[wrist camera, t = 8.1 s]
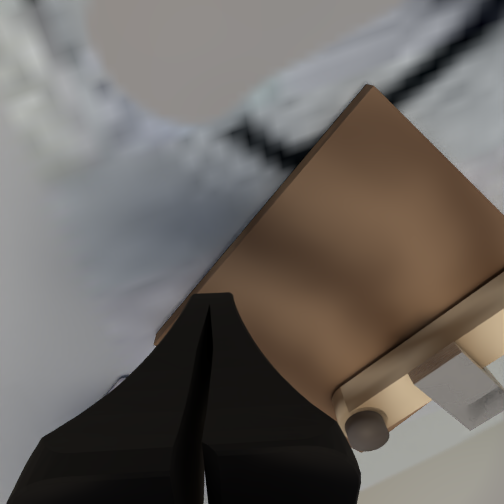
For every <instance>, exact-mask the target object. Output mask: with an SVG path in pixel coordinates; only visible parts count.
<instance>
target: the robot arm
mask: <svg viewBox="0 0 504 504" xmlns="http://www.w3.org/2000/svg"><path fill="white" fill-rule="evenodd" d="M204 471H205V477H206V486H207V495H208V504H357V500H358V495H359V490H360V485H361V472H360V469H359V466H358V463H357V460H356V458H355V455H354V453H353V451H352V449H351V447H350V445H349V443H348V441H347V439H346V437H345V435H344V433H343V431H342V429H341V428H340V426H339V424H338V423H337V421H335V420H334V419H333V418H331V417H330V416H328V415H327V414H326V413H324V412H323V411H321V410H320V409H319V408H317V407H316V406H314V405H313V404H312V403H311V402H309V401H308V400H307V399H306V398H305V397H304V396H302V395H301V394H300V393H299V392H298V391H297V390H296V389H295V388H294V387H293V386H292V385H291V384H290V383H289V382H288V381H287V380H286V379H284V378H283V377H282V376H281V374H280V373H279V372H278V371H277V370H276V369H275V368H274V367H273V365H272V364H271V363H270V362H269V361H268V359H267V358H266V357H265V356H264V354H263V353H262V352H261V350H260V349H259V347H258V346H257V344H256V343H255V341H254V340H253V338H252V337H251V335H250V333H249V332H248V330H247V328H246V326H245V324H244V323H243V321H242V319H241V317H240V314H239V312H238V310H237V307H236V305H235V301H234V297H233V294H232V293H230V292H223V293H198V294H193V295H191V296H190V298H189V300H188V302H187V304H186V305H185V307H184V309H183V310H182V312H181V314H180V315H179V317H178V318H177V320H176V321H175V323H174V324H173V325H172V327H171V328H170V330H169V331H168V332H167V334H166V335H165V336H164V338H163V339H162V340H161V341H160V343H159V344H158V345H157V346H156V348H155V349H154V350H153V351H152V352H151V353H150V355H149V356H148V357H147V358H146V359H145V360H144V361H143V362H142V363H141V364H140V365H139V366H138V367H137V368H136V369H135V370H134V371H133V372H132V373H131V374H130V375H129V376H128V377H127V378H122V379H120V380H119V381H118V382H117V383H116V384H115V385H114V387H113V388H112V389H111V390H110V391H109V392H108V394H107V395H106V396H104V397H103V398H102V399H100V400H99V401H98V402H96V403H95V404H94V405H92V406H91V407H89V408H88V409H87V410H85V411H84V412H82V413H81V414H79V415H78V416H76V417H75V418H73V419H72V420H70V421H68V422H67V423H65V424H64V425H62V426H60V427H59V428H57V429H56V430H54V431H52V432H51V433H49V434H47V435H46V436H44V437H42V438H41V440H40V442H39V444H38V445H37V447H36V448H35V450H34V451H33V453H32V455H31V456H30V458H29V460H28V461H27V463H26V465H25V467H24V469H23V471H22V473H21V475H20V477H19V479H18V481H17V483H16V485H15V487H14V489H13V491H12V493H11V495H10V497H9V499H8V501H7V504H203V503H204Z"/></svg>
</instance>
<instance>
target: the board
mask: <svg viewBox="0 0 504 504" xmlns="http://www.w3.org/2000/svg"><path fill="white" fill-rule="evenodd" d="M503 272H504V215H503V214H502V213H501V212H500V211H499V210H498V209H497V208H496V207H495V206H494V205H493V204H492V203H491V202H490V201H489V200H488V199H487V198H486V197H485V196H484V195H483V194H482V193H481V192H480V191H479V190H478V189H477V188H476V187H475V186H474V185H473V184H472V183H471V182H470V181H469V180H468V179H467V178H466V177H465V176H464V175H463V174H462V173H461V172H460V171H459V170H458V169H457V168H456V167H455V166H454V165H453V164H452V163H451V162H450V161H449V160H448V159H447V158H446V157H445V156H444V155H443V154H442V153H441V152H440V151H439V150H438V149H437V148H436V147H435V146H434V145H433V144H432V143H431V142H430V141H429V140H428V139H427V138H426V137H425V136H424V135H423V134H422V133H421V132H420V131H419V130H418V129H417V128H416V127H415V126H414V125H413V124H412V123H411V122H410V121H409V120H408V119H407V118H406V117H405V116H404V115H403V114H402V113H401V112H400V111H399V110H398V109H397V108H396V107H395V106H394V105H393V104H392V103H391V102H390V101H389V100H388V99H387V98H386V97H385V96H384V95H383V94H382V93H381V92H380V91H379V90H378V89H377V88H376V87H375V86H373V85H368V84H366V85H365V86H364V87H363V89H362V90H361V91H360V92H359V93H358V95H357V96H356V97H355V98H354V99H353V101H352V102H351V103H350V104H349V105H348V107H347V108H346V109H345V110H344V111H343V112H342V114H341V115H340V116H339V117H338V118H337V120H336V121H335V122H334V123H333V124H332V126H331V127H330V128H329V129H328V130H327V131H326V133H325V134H324V135H323V136H322V137H321V139H320V140H319V141H318V142H317V143H316V145H315V146H314V147H313V148H312V149H311V151H310V152H309V153H308V154H307V155H306V156H305V158H304V159H303V160H302V161H301V162H300V164H299V165H298V166H297V167H296V168H295V170H294V171H293V172H292V173H291V174H290V175H289V177H288V178H287V179H286V180H285V181H284V183H283V184H282V185H281V186H280V187H279V189H278V190H277V191H276V192H275V193H274V195H273V196H272V197H271V198H270V199H269V200H268V202H267V203H266V204H265V205H264V206H263V208H262V209H261V210H260V211H259V212H258V214H257V215H256V216H255V217H254V218H253V219H252V221H251V222H250V223H249V224H248V225H247V227H246V228H245V229H244V230H243V231H242V233H241V234H240V235H239V236H238V237H237V239H236V240H235V241H234V242H233V243H232V244H231V246H230V247H229V248H228V249H227V250H226V252H225V253H224V254H223V255H222V256H221V258H220V259H219V260H218V261H217V262H216V263H215V265H214V266H213V267H212V268H211V269H210V271H209V272H208V273H207V274H206V275H205V277H204V278H203V279H202V280H201V281H200V283H199V284H198V285H197V286H196V287H195V288H194V290H193V291H192V292H191V293H190V294H189V296H188V297H187V298H186V299H185V300H184V302H183V303H182V304H181V305H180V306H179V308H178V309H177V310H176V311H175V312H174V313H173V315H172V316H171V317H170V318H169V319H168V321H167V322H166V323H165V324H164V325H163V327H162V328H161V329H160V330H159V331H158V332H157V334H156V337H155V341H154V345H155V346H157V345H158V344H159V343H160V341H161V340H162V339H163V338H164V336H165V335H166V334H167V332H168V331H169V330H170V328H171V327H172V325H173V324H174V323H175V321H176V320H177V318H178V317H179V315H180V314H181V312H182V310H183V309H184V307H185V305H186V304H187V302H188V300H189V298H190V296H191V295H193V294H198V293H223V292H230V293H232V294H233V297H234V301H235V305H236V307H237V310H238V312H239V314H240V317H241V319H242V321H243V323H244V324H245V326H246V328H247V330H248V332H249V333H250V335H251V337H252V338H253V340H254V341H255V343H256V344H257V346H258V347H259V349H260V350H261V352H262V353H263V354H264V356H265V357H266V358H267V359H268V361H269V362H270V363H271V364H272V365H273V367H274V368H275V369H276V370H277V371H278V372H279V373H280V374H281V376H282V377H283V378H284V379H286V380H287V381H288V382H289V383H290V384H291V385H292V386H293V387H294V388H295V389H296V390H297V391H298V392H299V393H300V394H301V395H302V396H304V397H305V398H306V399H307V400H308V401H309V402H311V403H312V404H313V405H314V406H316V407H317V408H319V409H320V410H321V411H323V412H324V413H326V414H327V415H328V416H330V417H331V418H333V419H334V420H335V421H337V417H336V414H335V411H334V407H333V404H332V397H333V395H334V393H335V392H336V390H337V389H339V388H340V387H341V386H343V385H344V384H345V383H347V382H348V381H350V380H351V379H353V378H354V377H355V376H357V375H358V374H360V373H361V372H362V371H364V370H365V369H367V368H368V367H370V366H371V365H372V364H374V363H375V362H377V361H378V360H379V359H381V358H382V357H384V356H385V355H387V354H388V353H389V352H391V351H392V350H394V349H395V348H396V347H398V346H399V345H401V344H402V343H404V342H405V341H406V340H408V339H409V338H411V337H412V336H413V335H415V334H416V333H418V332H419V331H421V330H422V329H423V328H425V327H426V326H428V325H429V324H430V323H432V322H433V321H435V320H436V319H438V318H439V317H440V316H442V315H443V314H445V313H446V312H447V311H449V310H450V309H452V308H453V307H454V306H456V305H457V304H459V303H460V302H462V301H463V300H464V299H466V298H467V297H469V296H470V295H471V294H473V293H474V292H476V291H477V290H479V289H480V288H481V287H483V286H484V285H486V284H487V283H488V282H490V281H491V280H493V279H494V278H496V277H497V276H498V275H500V274H501V273H503ZM428 403H429V402H428ZM425 405H426V404H425ZM425 405H424V406H425ZM422 407H423V406H422ZM422 407H420V408H419V409H421V408H422ZM419 409H417V410H416V411H414V412H413V413H411V414H409V415H408V416H406V417H405V418H403V419H402V420H400V421H398V422H397V423H395V424H394V425H392V426H391V427H389V428H387V429H388V432H390V431H391V430H392V429H394V428H395V427H397V426H398V425H399V424H401V423H402V422H403V421H405V420H406V419H407V418H409V417H410V416H411V415H413V414H414V413H415V412H417V411H418V410H419ZM337 423H338V421H337ZM345 437H346V436H345ZM346 439H347V441H348V443H349V440H348V438H347V437H346ZM349 445H350V443H349ZM350 447H351V445H350ZM351 448H352V447H351ZM353 449H354V448H353ZM357 451H358V450H357ZM359 452H361V453H362V452H363V451H359Z"/></svg>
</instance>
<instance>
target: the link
mask: <svg viewBox="0 0 504 504" xmlns="http://www.w3.org/2000/svg"><path fill="white" fill-rule="evenodd" d="M453 341H454V342H455V343H456V344H457V345H458V346H459V347H460V348H461V349H462V350H463V351H464V352H465V353H466V354H467V355H468V356H470V357H471V358H472V359H473V360H474V361H475V362H476V363H477V364H478V365H479V366H480V367H481V368H484V367H485V366H487V365H488V364H490V363H491V362H493V361H495V360H496V359H498V358H499V357H501V356H502V355H504V272H503V273H501V274H500V275H498V276H497V277H496V278H494V279H493V280H491V281H490V282H488V283H487V284H486V285H484V286H483V287H481V288H480V289H479V290H477V291H476V292H474V293H473V294H471V295H470V296H469V297H467V298H466V299H464V300H463V301H462V302H460V303H459V304H457V305H456V306H454V307H453V308H452V309H450V310H449V311H447V312H446V313H445V314H443V315H442V316H440V317H439V318H438V319H436V320H435V321H433V322H432V323H430V324H429V325H428V326H426V327H425V328H423V329H422V330H421V331H419V332H418V333H416V334H415V335H413V336H412V337H411V338H409V339H408V340H406V341H405V342H404V343H402V344H401V345H399V346H398V347H396V348H395V349H394V350H392V351H391V352H389V353H388V354H387V355H385V356H384V357H382V358H381V359H379V360H378V361H377V362H375V363H374V364H372V365H371V366H370V367H368V368H367V369H365V370H364V371H362V372H361V373H360V374H358V375H357V376H355V377H354V378H353V379H351V380H350V381H348V382H347V383H345V384H344V385H343V386H341V387H340V388H339V389H337V390H336V392H335V393H334V395H333V397H332V404H333V407H334V411H335V414H336V417H337V421H338V424H339V426H340V428H341V429H342V431H343V433H344V435H345V436H346V437H347V438H348V440H349V443H350V445H351V447H352V448H354V449H355V450H358V451H372V450H376V449H378V448H380V447H382V446H383V445H384V444H385V443H386V442H387V441H388V439H389V432H388V429H387V428H389V427H391V426H392V425H394V424H395V423H397V422H398V421H400V420H402V419H403V418H405V417H406V416H408V415H409V414H411V413H413V412H414V411H416V410H417V409H419V408H420V407H422V406H424V405H425V404H427V403H428V402H430V401H432V399H431V398H430V397H428V396H427V395H426V394H425V393H423V392H422V391H421V390H420V389H419V388H417V387H416V386H415V385H414V384H413V382H412V380H411V379H410V377H409V375H408V373H409V372H410V371H412V370H413V369H415V368H416V367H418V366H419V365H420V364H422V363H423V362H425V361H426V360H428V359H429V358H431V357H432V356H433V355H435V354H436V353H438V352H439V351H441V350H442V349H443V348H445V347H446V346H448V345H449V344H451V343H452V342H453Z"/></svg>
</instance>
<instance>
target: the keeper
mask: <svg viewBox="0 0 504 504" xmlns="http://www.w3.org/2000/svg"><path fill="white" fill-rule="evenodd" d="M408 375H409V377H410V379H411V380H412V382H413V384H414V385H415V386H416V387H417V388H419V389H420V390H421V391H422V392H423V393H425V394H426V395H427V396H428V397H430V398H431V399H432V400H433V401H435V402H436V403H437V404H438V405H439V406H441V407H442V408H443V409H444V410H446V411H447V412H448V413H449V414H451V415H452V416H453V417H454V418H455V419H457V420H458V421H459V422H460V423H462V424H463V425H464V426H465V427H467V428H468V429H469V430H470V431H471V430H472V429H474V428H476V427H477V426H479V425H481V424H482V423H484V422H486V421H487V420H489V419H490V418H492V417H494V416H495V415H497V414H499V413H500V412H502V411H504V388H503V387H502V385H501V384H500V383H499V382H498V381H497V379H496V378H495V377H494V376H493V375H492V373H491V372H490V371H489V370H488V368H487V367H486V366H485V367H484V368H481V367H480V366H479V365H478V364H477V363H476V362H475V361H474V360H473V359H472V358H471V357H470V356H468V355H467V354H466V353H465V352H464V351H463V350H462V349H461V348H460V347H459V346H458V345H457V344H456V343H455V342H454V341H453V342H452V343H451V344H449V345H448V346H446V347H445V348H443V349H442V350H441V351H439V352H438V353H436V354H435V355H433V356H432V357H431V358H429V359H428V360H426V361H425V362H423V363H422V364H420V365H419V366H418V367H416V368H415V369H413V370H412V371H410V372H409V373H408Z"/></svg>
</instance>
